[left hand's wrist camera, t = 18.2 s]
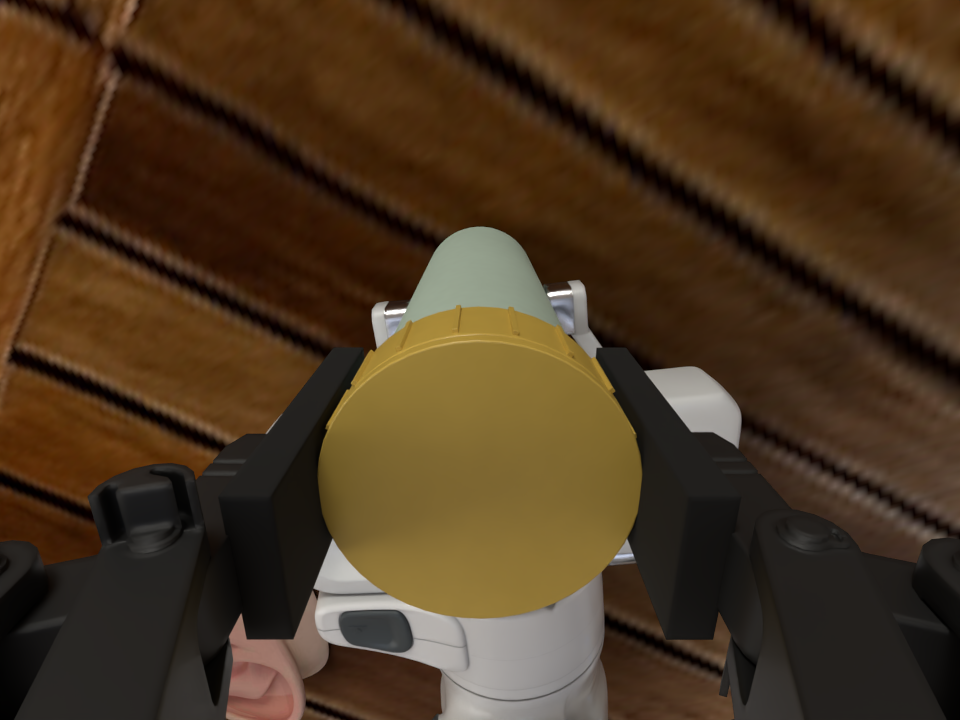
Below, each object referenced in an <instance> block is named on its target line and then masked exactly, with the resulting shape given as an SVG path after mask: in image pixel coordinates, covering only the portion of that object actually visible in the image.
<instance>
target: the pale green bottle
mask: <svg viewBox="0 0 960 720" xmlns="http://www.w3.org/2000/svg"><path fill="white" fill-rule="evenodd" d="M456 305H461V308H465V307H497V308H503V309H508V307H509V306H510V307H514V311H518V312H521V313H524V314H527V315H531V316H534V317H536V318H538V319H540V320H542V321H545V322H547V323H549V324H551V325H553V326H554V327H556V326H557V325H559V326H561V327H562V325H561V323H560V321H559V319H558V317H557V315H556V313H555V311H554V309H553V307H552V305H551V303H550V301H549V299H548V297H547V295H546V293H545V291H544V289H543V287H542V285H541V283H540V281H539V279H538V277H537V275H536V272H535V270H534V268H533V266H532V264H531V262H530V260H529V258H528V256H527V255H526V253H525V251H524V250H523V248H522V247H521V246H520V245H519V243H518V242H517V241H516V240H514V239H513V238H512V237H511V236H509V235H507V234H506V233H504V232H502V231H499V230H497V229H493V228H488V227H472V228H467V229H463V230H461V231H458V232H456V233H454V234H453V235H451V236H449V237H448V238H447V239H446V240H444V241H443V242H442V243H441V244H440V245H439V247H438V248H437V250H436V251H435V253H434V254H433V256H432V258H431V260H430V262H429V264H428V266H427V268H426V270H425V272H424V274H423V276H422V278H421V280H420V282H419V284H418V286H417V288H416V291H415V293H414V295H413V297H412V299H411V301H410V303H409V305H408V307H407V309H406V311H405V313H404V315H403V317H402V319H401V321H400V323H399V325H398V327H397V329H396V331H395V333H396V332H398V331H399V330H401V329H402V328H404V327H405V325H406V322H408V321H409V320H411V321H412V322H415V321H417V320H419V319H421V318H424V317H427V316H430V315H432V314H435V313H438V312H442V311H447V310H452V309H455V308H456ZM562 329H563V327H562ZM563 331H564V329H563ZM395 333H394V334H395ZM564 333H565V331H564ZM565 334H566V333H565Z"/></svg>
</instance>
